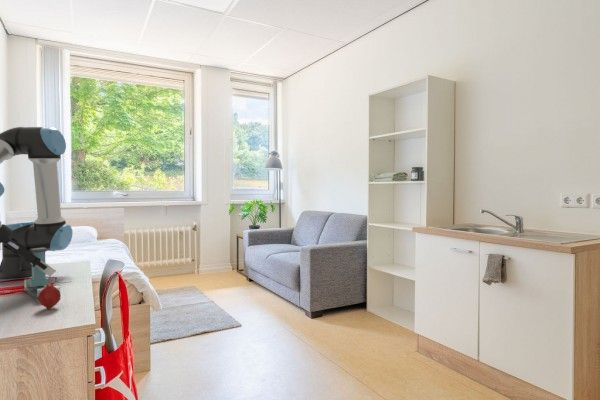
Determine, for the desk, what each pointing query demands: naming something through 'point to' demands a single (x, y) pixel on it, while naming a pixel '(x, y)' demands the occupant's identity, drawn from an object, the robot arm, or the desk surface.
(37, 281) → the carriage
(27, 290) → the rail
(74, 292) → the desk surface
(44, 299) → the onion
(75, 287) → the desk surface
